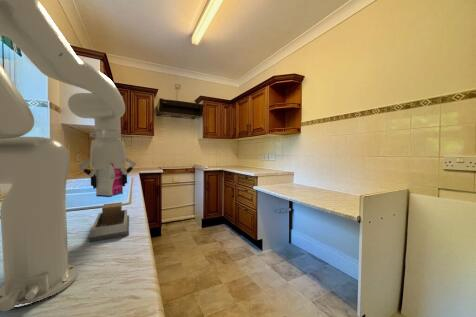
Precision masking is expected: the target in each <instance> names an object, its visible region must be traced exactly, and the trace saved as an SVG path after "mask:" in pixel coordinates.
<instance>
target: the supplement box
mask: <svg viewBox="0 0 476 317" xmlns="http://www.w3.org/2000/svg"><path fill="white" fill-rule="evenodd" d="M122 175H123V172H122V171H121V170H120V169H114V164H113V163H106V164H105V169H104V170H97V172H96V188H95V191H96V192H95V193H96V194H95V195H96V197H98V198H99V197H100V198H101V197H102V198H111V197H115V196H119V195H122V194H123V193H124V192H123V190H124V189H123V188H124V186H123V183H122Z"/></svg>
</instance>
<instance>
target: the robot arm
mask: <svg viewBox="0 0 476 317" xmlns="http://www.w3.org/2000/svg"><path fill="white" fill-rule="evenodd" d="M0 36H2V37H3V36H4V37H7V38H8V39H9V40H10V41H12V43H13V44H15V46H16V47H17V48H18V49H19V50H20V51H21V52H22V53H23V54H24V55H25V57H26V58H27V59H28V60H29V61H30V62H31V63H32V64H33V65H34V66H35V67H36V69H38V70H39V71H40V73H42V74H43V75H44V76H46V77H48V78H50V79H52V80H55V81H58V82H61V83H64V84H68V85H70V86H73V87H76V88H80V89H82V90H85V91H87V92H77V93H74V94H72V95H70V97H69V98H68V100H67V106H68V109H69V111H70V112H71V113H72V114H73V115H75V116H77V117H78V118H82V119H92V120H93V119H94V131H93V132H89V137H92V138H94V139H92V140H91V145H90V155H89V156H90V157H89V158H88V159H85V160H84V161H82V162H81V163H79V164H78V167H79V168H80V169H81V170H82V171H83V172H84V173H85V174H86V175H88V176H89V178H90V186H91V187H92V188H93V189H94V190H96V172H97V170H104V169H105V164H106V163H113V164H114V169H120V170H121V171H122V172H123V175H122V183H123V187H126V184H128V174H129V173H131V172H132V171H133V169H134V168H135V167H136V165H137V163H136V161H133V160H132V159H131V158H129V157H127V156H126V146H125V142H124V140H122V130H121V129H122V128H121V127H122V126H121V117H123V116H124V115H125V113H126V104H125V101H124V98H123V96H122V94H121V93H120V91H119V90H118V88H117V86H116V85H115V83H114V82H113V81H112V80H111V79H110V78H109V77H108V76H107V75H105V74H104V73H103V72H101V71H100V70H98V69H97V68H95V67H94V66H92V65H91V64H89V63H87V62H86V61H85V60H82V59H81V58H80V57H79V56H77V54H76V52H75V51H74V49H73V48H72V47H71V45H70V43H69V42H68V41H67V40H66V38H65V36H64V35H63V33H62V32H61V30H60V29H59V28H58V26H57V25H56V23H55V22H54V20H53V19H52V17H51V16H50V15H49V13H48V11H47V10H46V9H45V8H44V6H43V5H42V4H41V1H39V0H0ZM34 126H35V117H34V115H33V113H32V110H31V108H30V106H29V105H28V103H27V102H26V100H25V98H24V97H23V95H22V94H21V92H20V91H19V90H18V88H17V87H16V85H15V84H14V82H13V80H12V79H11V77H10V76H9V74H8V73H7V70H5V69H4V67H3V65H2V63H1V62H0V185H2V184H5V185H6V184H10V185H11V187H10V189H9V191H7V194H6V195H5V197H4V198H3V200H2V202H1V205H0V228H1V245H2V246H1V248H2V263H3V279H4V280H3V281H4V284H3V285H2V286H1V287H0V311H1V312H7V311H10V310H12V309H14V308H13V307H14V306H15V305H19V304H25V303H31V302H35V301H38V300H42V299H44V298H46V299H48V298H47V297H49V296H51V297H53V296H55V295H57V294H58V293H61V291H64V290H65V289H66V288H68V287H69V286H70V285H71V284H72V283H74V281H75V280H76V279H77V276H78V268H77V267H76V266H75V265H73V264H69V253H68V252H69V251H68V246H69V245H68V228H67V227H68V226H67V225H68V224H67V204H66V188H67V180H68V179H67V178H68V174H69V169H70V165H71V157H70V156H71V155H70V151H69V149H68V148H67V147H66V146H65V145H64V144H63V143H62V142H60V141H58V140H56V139H52V138H49V137H42V136H25V135H27V134H28V133H30V132H31V131H32V130H33V128H34ZM127 163H128V164H130V165H129V167H128V168H127V169H126V168H125V167H126V166H127ZM88 164H90V168H91V169H92V170H90V168H88V166H87V165H88ZM56 293H57V294H56ZM54 294H55V295H54ZM52 295H53V296H52ZM49 298H50V297H49ZM44 300H45V299H44ZM42 301H43V300H42Z"/></svg>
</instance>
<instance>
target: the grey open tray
mask: <svg viewBox="0 0 476 317" xmlns="http://www.w3.org/2000/svg"><path fill="white" fill-rule="evenodd" d="M101 209H102V210H101V211H102V212H99V213H98V214H97V216H96V219H95V220H94V223H93V225H92V227H91V229H90V234H89V237H88V243H92V242H97V241H103V240H104V241H105V240H108V239H114V238H115V239H116V238H121V237H124V236H125V237H126V236H129V235H130V215H129V214H128V209H123V202H122V201H121V202H111V203H104V204H103V206H102V208H101Z"/></svg>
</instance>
